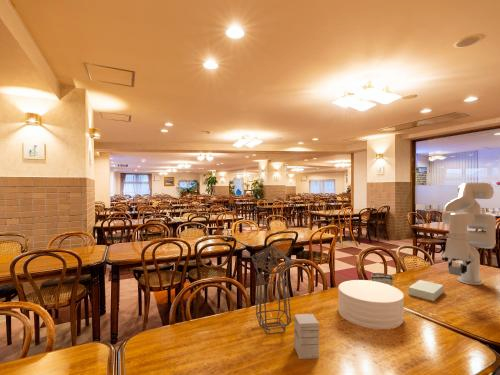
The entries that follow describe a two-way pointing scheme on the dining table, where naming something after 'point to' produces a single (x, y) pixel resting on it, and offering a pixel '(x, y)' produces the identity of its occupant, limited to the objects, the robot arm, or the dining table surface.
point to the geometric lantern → (272, 282)
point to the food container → (382, 278)
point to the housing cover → (457, 264)
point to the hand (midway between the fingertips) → (457, 271)
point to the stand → (426, 290)
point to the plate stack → (371, 304)
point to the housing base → (456, 270)
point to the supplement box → (306, 336)
